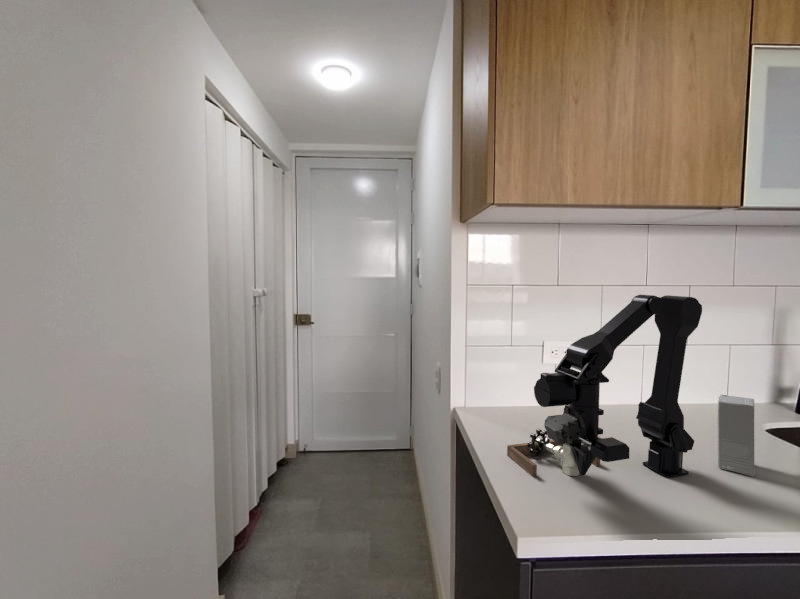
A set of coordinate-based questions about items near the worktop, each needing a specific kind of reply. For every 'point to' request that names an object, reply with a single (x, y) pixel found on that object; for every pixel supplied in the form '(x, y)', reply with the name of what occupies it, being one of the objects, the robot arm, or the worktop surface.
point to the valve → (559, 452)
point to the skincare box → (736, 434)
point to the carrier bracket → (520, 450)
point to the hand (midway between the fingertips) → (582, 474)
